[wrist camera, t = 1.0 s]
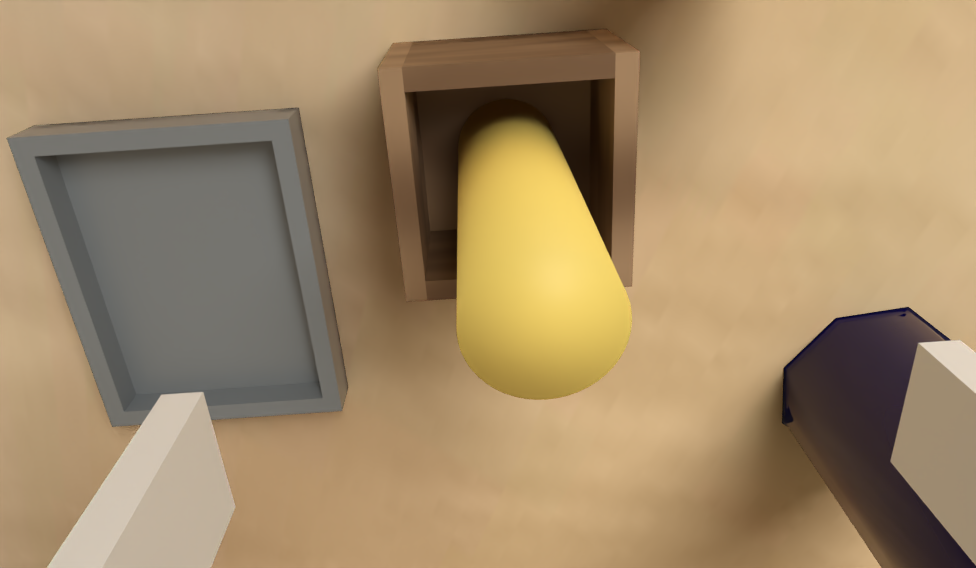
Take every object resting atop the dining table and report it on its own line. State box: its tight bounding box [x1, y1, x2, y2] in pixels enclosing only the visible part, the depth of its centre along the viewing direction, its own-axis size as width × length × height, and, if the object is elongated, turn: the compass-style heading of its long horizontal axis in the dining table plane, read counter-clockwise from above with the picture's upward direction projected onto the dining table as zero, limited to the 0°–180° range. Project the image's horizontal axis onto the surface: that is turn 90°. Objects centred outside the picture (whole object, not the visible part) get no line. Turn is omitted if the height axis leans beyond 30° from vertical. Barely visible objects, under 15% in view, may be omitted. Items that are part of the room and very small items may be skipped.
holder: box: [377, 29, 640, 302], centre depth 28 cm, size 9×9×6 cm
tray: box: [7, 108, 348, 427], centre depth 32 cm, size 14×11×2 cm
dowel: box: [456, 99, 632, 400], centre depth 23 cm, size 4×4×15 cm
